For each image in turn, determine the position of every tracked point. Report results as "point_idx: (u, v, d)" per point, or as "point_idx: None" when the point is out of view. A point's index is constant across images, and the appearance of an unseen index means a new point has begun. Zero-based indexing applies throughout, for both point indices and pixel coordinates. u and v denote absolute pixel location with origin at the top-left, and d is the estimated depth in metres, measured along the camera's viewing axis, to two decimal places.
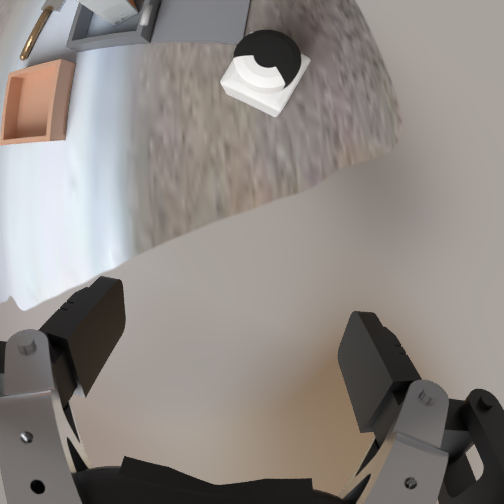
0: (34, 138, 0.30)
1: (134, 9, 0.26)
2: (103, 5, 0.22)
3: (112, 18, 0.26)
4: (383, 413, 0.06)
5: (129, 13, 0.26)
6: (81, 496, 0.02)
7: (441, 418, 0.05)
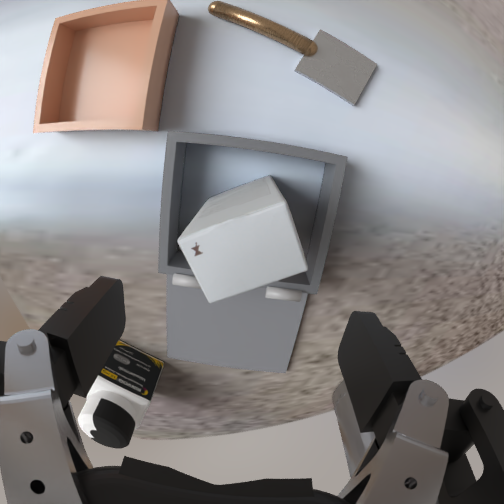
0: (40, 99, 0.18)
1: None
2: None
3: None
4: (383, 413, 0.06)
5: None
6: (81, 496, 0.02)
7: (441, 418, 0.05)
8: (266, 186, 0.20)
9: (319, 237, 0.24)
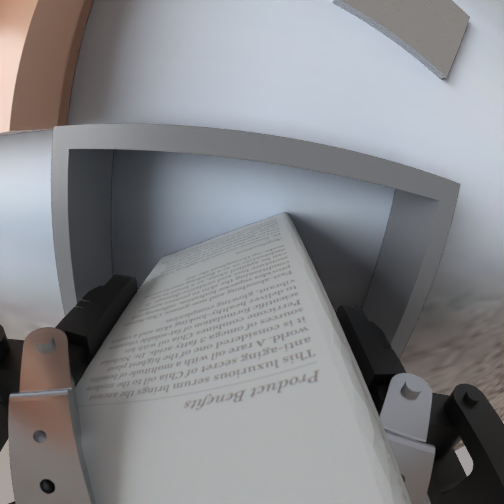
0: None
1: None
2: None
3: None
4: None
5: None
6: (92, 498, 0.02)
7: (423, 411, 0.05)
8: (288, 279, 0.07)
9: None
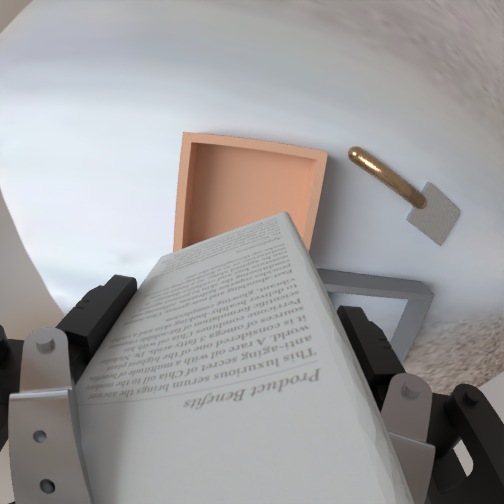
0: (179, 233, 0.25)
1: None
2: None
3: None
4: None
5: None
6: (92, 498, 0.02)
7: (423, 411, 0.05)
8: (288, 277, 0.07)
9: (405, 342, 0.31)
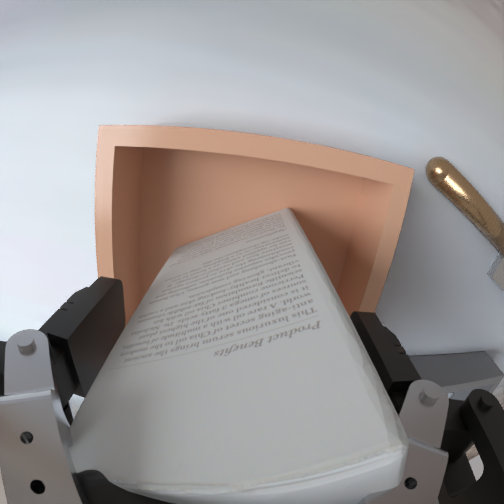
0: None
1: None
2: None
3: None
4: None
5: None
6: (81, 496, 0.02)
7: (441, 418, 0.05)
8: (293, 259, 0.08)
9: None
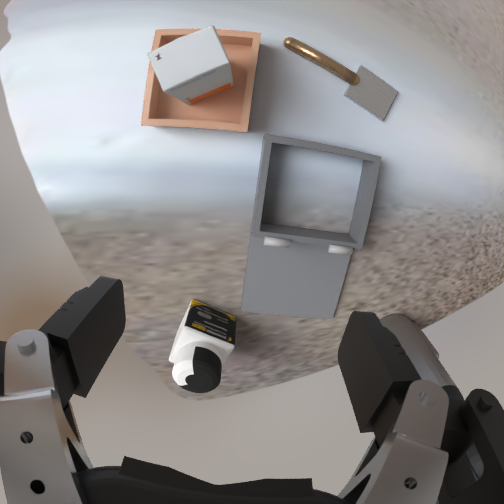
0: (148, 98, 0.28)
1: (186, 103, 0.30)
2: None
3: None
4: (383, 413, 0.06)
5: None
6: (81, 496, 0.02)
7: (441, 418, 0.05)
8: None
9: (362, 210, 0.34)
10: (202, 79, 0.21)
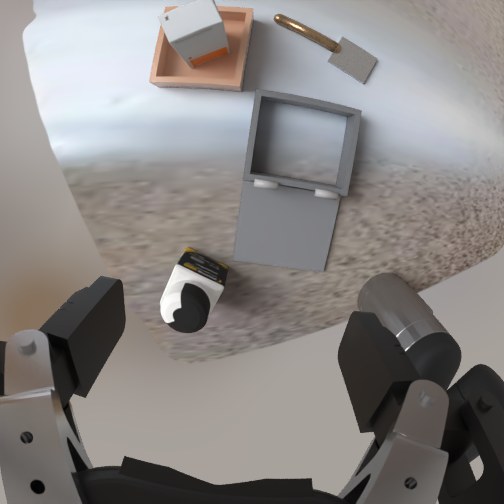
0: (156, 60, 0.31)
1: (189, 65, 0.32)
2: None
3: None
4: (383, 413, 0.06)
5: None
6: (81, 496, 0.02)
7: (441, 418, 0.05)
8: None
9: (346, 158, 0.36)
10: (201, 36, 0.24)
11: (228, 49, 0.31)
